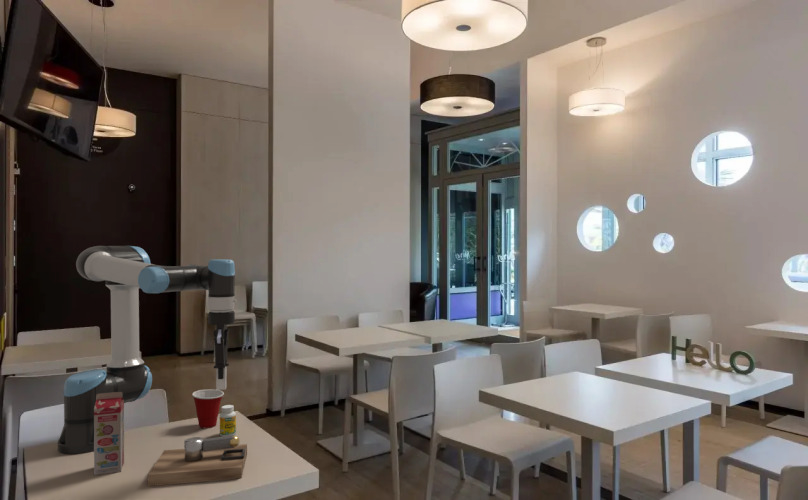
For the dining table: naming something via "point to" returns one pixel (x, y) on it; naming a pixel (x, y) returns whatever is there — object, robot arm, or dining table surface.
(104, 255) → the robot arm
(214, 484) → the dining table surface
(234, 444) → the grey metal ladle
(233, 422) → the supplement bottle
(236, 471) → the lever stand
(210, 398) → the plastic cup
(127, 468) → the dining table surface
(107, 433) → the juice carton
